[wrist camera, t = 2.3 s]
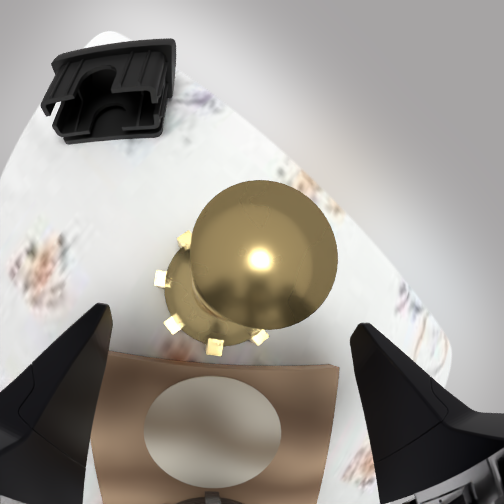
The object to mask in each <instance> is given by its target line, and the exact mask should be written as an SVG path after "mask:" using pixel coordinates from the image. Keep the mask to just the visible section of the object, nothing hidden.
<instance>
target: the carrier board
mask: <svg viewBox="0 0 504 504" xmlns="http://www.w3.org/2000/svg"><path fill="white" fill-rule="evenodd" d="M338 378H339V367H337V366H334V365H331V364H326V365H301V366H250V365H225V364H209V363H197V362H186V361H176V360H167V359H159V358H152V357H144V356H138V355H131V354H125V353H120V352H114V351H109V350H108V357H107V363H106V368H105V372H104V376H103V380H102V384H101V388H100V392H99V397H98V401H97V406H96V410H95V415H94V420H93V425H92V431H91V436H90V438H91V445H92V452H93V458H94V464H95V469H96V474H97V479H98V484H99V488H100V492H101V496H102V500H103V504H163V503H164V504H176V503H178V502H181V501H184V500H187V499H191V498H198V497H205V491H210V492H219V496H220V497H221V498H228V499H232V500H236V501H239V502H242V503H244V504H316V503H317V499H318V495H319V491H320V487H321V483H322V478H323V474H324V469H325V464H326V459H327V454H328V448H329V443H330V437H331V431H332V424H333V418H334V411H335V403H336V395H337V387H338Z"/></svg>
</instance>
